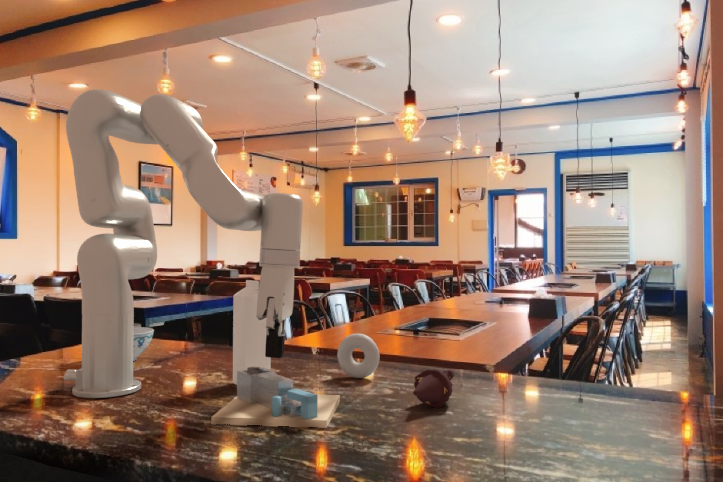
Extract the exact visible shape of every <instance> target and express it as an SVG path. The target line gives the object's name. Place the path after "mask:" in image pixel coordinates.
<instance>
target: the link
mask: <svg viewBox="0 0 723 482" xmlns="http://www.w3.org/2000/svg"><path fill="white" fill-rule="evenodd" d="M293 389H294V379H292V378H289V377H285V376H282V375H279V374H277V371H274V370H272V369H271V370H269V369H266V368H263V367H261V368H260V373H259V374H250V373H247V370H240V371H237V385H236V396H237V399H240V400H242V401H244V402H247V403H249V404H254V403H257V404H259V405H262V406H264V407H267V408H269V409H271V410H272V397H273V396H281V414H283V415H285V416H288V417H290V418H292V417H297V416H301V403H300V402H298V401H295V400H292V399H289V398H287V391H289V390H293Z"/></svg>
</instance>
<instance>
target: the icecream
mask: <svg viewBox="0 0 723 482" xmlns="http://www.w3.org/2000/svg"><path fill="white" fill-rule="evenodd" d="M454 376H455V372H454V370H452V369H446V370H443V371H440V370H437V369H424V370H423V371H422V372H420V373H418V374H417V375H416V376H414V382H413V386H414V390H413V392H412V394H413V395H414V396H416V398H417V399H418V401H420V402H421V403H422V404H423V405H424V406H425V407H429V408H435V409H438V408H441V407H443V405H445V404H446V403H447V402H448V401H449V400H450V397H451V396H452V394H453V383H452V379H453V378H454Z"/></svg>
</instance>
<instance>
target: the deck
mask: <svg viewBox="0 0 723 482" xmlns="http://www.w3.org/2000/svg"><path fill="white" fill-rule="evenodd" d="M317 395H318V401H317V417H315V418H311V419H305V418H302V417H301V416H297V417H292V418H290V417H288V416H285V415H283V414H281V416H279V417H272V416H271V415H272V410H271V409H269V408H267V407H264V406H262V405H259V404H257V403H254V404H249V403H247V402H244V401H242V400H240V399H237V395H236V396H235V397H234V398H233V399H232V400H230V401H229V402H228V403H226V404H225V405H224V406H223V407H222V408H220V409H219V410H218V411H217V412H216V413H214V414H213V415H211V419H210V421H211V425H216V424H226V425H225V426H247V425H260V426H259V427H278V426H289V428H309V427H318V428H317V429H327V428H328V427H329V424H330V422H331V421H332V419H333V416H334V414H335V412H336V410H337V408H338V406H339V405H340V402H341V395H340V394H339V395H338V394H317ZM298 402H299V401H298ZM300 403H301V402H300ZM227 424H228V425H227ZM229 424H230V425H229ZM261 425H262V426H261ZM327 426H328V427H327Z"/></svg>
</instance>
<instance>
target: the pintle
mask: <svg viewBox="0 0 723 482" xmlns="http://www.w3.org/2000/svg"><path fill="white" fill-rule="evenodd" d="M247 373H250V374H259V373H260V367H248V368H247Z"/></svg>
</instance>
